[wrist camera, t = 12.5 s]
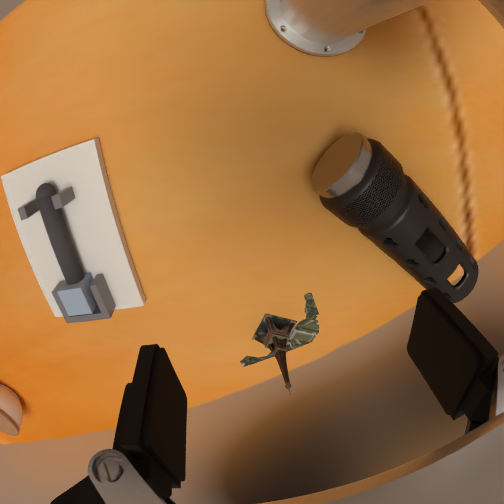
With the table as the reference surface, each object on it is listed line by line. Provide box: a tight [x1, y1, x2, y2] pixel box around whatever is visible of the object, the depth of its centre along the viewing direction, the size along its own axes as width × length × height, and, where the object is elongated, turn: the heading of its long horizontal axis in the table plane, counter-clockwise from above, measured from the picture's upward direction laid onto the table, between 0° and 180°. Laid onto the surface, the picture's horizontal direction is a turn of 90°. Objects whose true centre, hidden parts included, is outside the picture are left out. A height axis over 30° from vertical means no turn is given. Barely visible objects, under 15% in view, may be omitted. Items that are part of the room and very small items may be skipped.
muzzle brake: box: [311, 132, 478, 303], centre depth 35 cm, size 10×28×10 cm, turn 55°
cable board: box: [1, 138, 146, 323], centre depth 34 cm, size 23×16×5 cm
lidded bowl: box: [0, 384, 23, 436], centre depth 45 cm, size 13×13×11 cm
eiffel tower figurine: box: [240, 293, 319, 389], centre depth 41 cm, size 15×10×13 cm
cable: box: [36, 183, 97, 316], centre depth 33 cm, size 17×4×4 cm, turn 8°
